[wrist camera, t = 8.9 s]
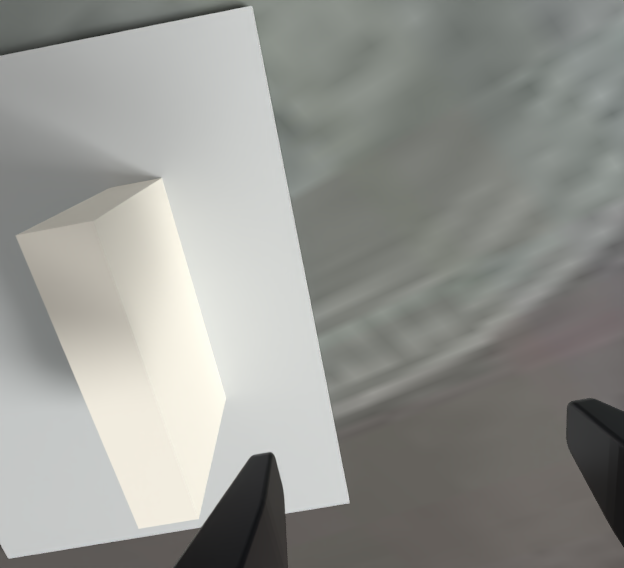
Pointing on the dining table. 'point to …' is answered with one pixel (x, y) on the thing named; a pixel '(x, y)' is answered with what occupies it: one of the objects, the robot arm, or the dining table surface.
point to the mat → (199, 257)
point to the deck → (134, 343)
